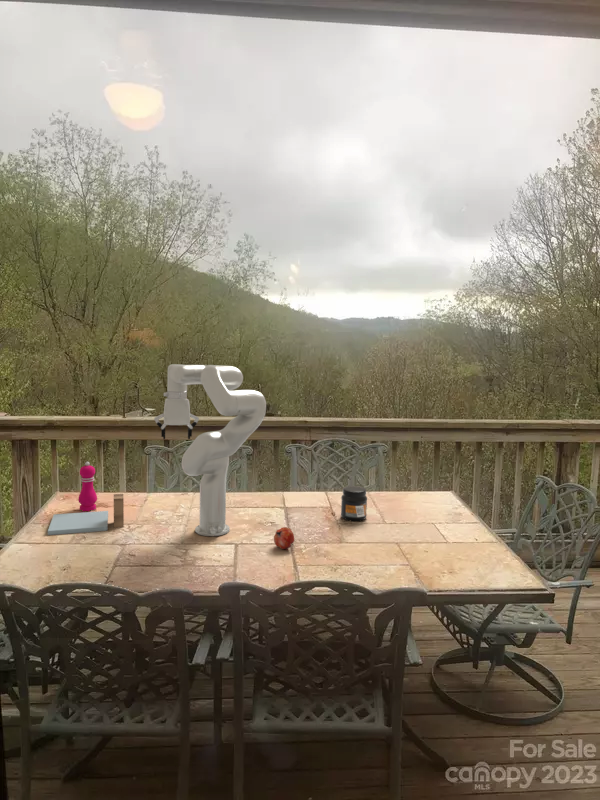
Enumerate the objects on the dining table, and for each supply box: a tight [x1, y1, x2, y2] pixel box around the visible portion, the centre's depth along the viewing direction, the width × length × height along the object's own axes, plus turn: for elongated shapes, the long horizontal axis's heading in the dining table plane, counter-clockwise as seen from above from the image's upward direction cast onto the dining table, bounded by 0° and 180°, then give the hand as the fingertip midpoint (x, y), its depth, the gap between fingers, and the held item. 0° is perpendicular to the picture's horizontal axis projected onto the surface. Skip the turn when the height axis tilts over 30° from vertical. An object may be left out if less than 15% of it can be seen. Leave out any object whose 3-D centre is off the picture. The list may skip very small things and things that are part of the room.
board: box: [47, 510, 109, 536], centre depth 207 cm, size 20×20×2 cm
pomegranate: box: [273, 526, 295, 550], centre depth 188 cm, size 7×7×10 cm
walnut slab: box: [113, 493, 125, 529], centre depth 208 cm, size 7×4×11 cm, turn 18°
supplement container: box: [340, 485, 368, 522], centre depth 223 cm, size 10×10×12 cm
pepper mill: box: [77, 461, 98, 512], centre depth 225 cm, size 7×7×20 cm
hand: (176, 438), depth 218 cm, fingers open, 9 cm apart
